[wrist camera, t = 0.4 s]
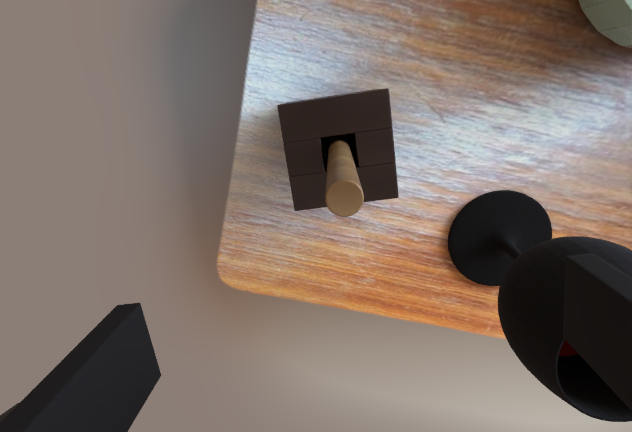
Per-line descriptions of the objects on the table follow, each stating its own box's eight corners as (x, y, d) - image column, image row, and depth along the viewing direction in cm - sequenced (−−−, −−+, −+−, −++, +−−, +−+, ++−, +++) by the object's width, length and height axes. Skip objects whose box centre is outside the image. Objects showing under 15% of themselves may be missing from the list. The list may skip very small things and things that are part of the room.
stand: (286, 102, 39) (277, 105, 33) (379, 88, 39) (388, 88, 32) (300, 191, 42) (294, 211, 35) (388, 180, 41) (398, 197, 35)
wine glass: (513, 168, 40) (676, 237, 21) (570, 244, 42) (766, 371, 23) (426, 233, 43) (503, 348, 24) (485, 303, 45) (598, 461, 26)
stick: (328, 134, 40) (322, 182, 19) (346, 131, 40) (361, 177, 19) (330, 152, 41) (328, 219, 20) (348, 150, 41) (365, 214, 19)
